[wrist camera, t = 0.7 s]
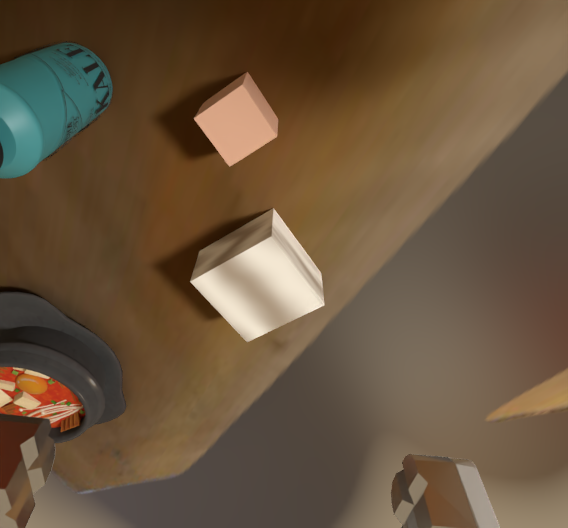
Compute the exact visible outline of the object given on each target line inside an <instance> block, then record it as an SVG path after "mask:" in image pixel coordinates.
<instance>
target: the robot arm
mask: <svg viewBox="0 0 568 528" xmlns="http://www.w3.org/2000/svg"><path fill="white" fill-rule="evenodd" d="M51 429H52V427H51V423H50V419H46V418H37V417H28V416H19V415H10V414H1V413H0V528H25V527H26V525H27V523H28V520H29V518H30V516H31V514H32V512H33V510H34V507H35V500H34V497H33V493H35V492H36V491H37V490H39V489H40V488H41V487H42V486H44V485H45V483H46V481H47V479H48V476H49V474H50V472H51V469H52V465H53V462H54V458H55V443H54V440H53V439H51V438H50V437H49V436H48V435H49V433H50V431H51ZM402 464H403V468H404V469H403V470H402V471H400V472H398V473H396V475H395V478H394V480H393V482H392V490H391V498H392V507H393V512H394V515H395V516H396V517H397V519H398V520H399V521H400V523H401V524H402V527H401V528H500V526H499V523H498V521H497V518H496V516H495V513H494V511H493V508H492V506H491V503H490V501H489V498H488V496H487V493H486V491H485V488H484V486H483V483H482V481H481V478H480V476H479V473H478V470H477V468H476V466H475V464H474V463H473V462H472V461H471V460H467V459H455V458H448V457H438V456H426V455H414V454H413V455H412V454H409V455H407V456H406V457H405V458H404V460H403V462H402Z"/></svg>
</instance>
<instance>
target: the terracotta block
mask: <svg viewBox="0 0 568 528" xmlns="http://www.w3.org/2000/svg"><path fill="white" fill-rule="evenodd" d="M194 120H195V121H196V122H197V124H198V125H199V126H200V128H201V129H202V130H203V132H204V133H205V134H206V136H207V137H208V138H209V140H210V141H211V142H212V144H213V145H214V146H215V148H216V149H217V150H218V152H219V153H220V154H221V156H222V157H223V158H224V160H225V161H226V162H227V164H228V165H229V167H230V166H232V165H233V164H235V163H236V162H238V161H240V160H241V159H243V158H244V157H246V156H247V155H249V154H251V153H252V152H254V151H255V150H257V149H258V148H260V147H262V146H263V145H265V144H266V143H268V142H269V141H271V140H273V139H274V138H276V137H277V131H278V118H277V117H276V115H275V113H274V112H273V110H272V109H271V107H270V106H269V104H268V103H267V101H266V99H265V98H264V96H263V95H262V93H261V92H260V90H259V89H258V87H257V85H256V84H255V82H254V81H253V79H252V78H251V76H250V75H249V73H248V71H247V72H246V73H245V74H243V75H242V76H240V77H239V78H238V79H236V80H235V81H233V82H232V83H230V84H229V85H228V86H226V87H225V88H223V89H222V90H221V91H219V92H218V93H216V94H215V95H213V96H212V97H211V98H209V99H208V100H206V101H205V102H204V103H203V104H202V106H201V107H200V109H199V111H198V112H197V114H196V115H195V117H194Z"/></svg>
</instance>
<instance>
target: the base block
mask: <svg viewBox="0 0 568 528" xmlns="http://www.w3.org/2000/svg"><path fill="white" fill-rule="evenodd" d="M190 282H191V283H192V284H193V285H194V286H195V288H196V289H197V290H198V291H199V292H200V293H201V294H202V295H203V296H204V297H205V298H206V299H207V300H208V301H209V302H210V303H211V304H212V306H213V307H214V308H215V309H216V310H217V311H218V312H219V313H220V314H221V315H222V316H223V317H224V318H225V319H226V320H227V321H228V322H229V323H230V325H231V326H232V327H233V328H234V329H235V330H236V331H237V332H238V333H239V334H240V335H241V336H242V337H243V338H244V339H245V340H246V341H247V342H249V341H251V340H253V339H255V338H257V337H259V336H261V335H263V334H265V333H267V332H269V331H272V330H274V329H276V328H278V327H280V326H282V325H284V324H286V323H288V322H290V321H293V320H295V319H297V318H299V317H301V316H303V315H305V314H307V313H309V312H311V311H313V310H316V309H318V308H320V307H322V306H324V295H323V285H322V275H321V272H320V271H319V269H318V268H317V267H316V265H315V264H314V263H313V261H312V260H311V259H310V257H309V256H308V254H307V253H306V252H305V250H304V249H303V248H302V246H301V245H300V244H299V242H298V241H297V239H296V238H295V237H294V235H293V234H292V233H291V231H290V230H289V229H288V227H287V226H286V224H285V223H284V222H283V220H282V219H281V218H280V216H279V215H278V214H277V212H276V211H275V209H274V208H273V209H271V210H269V211H268V212H266V213H264V214H262V215H261V216H259V217H257V218H256V219H254V220H252V221H250V222H249V223H247V224H245V225H244V226H242V227H240V228H238V229H237V230H235V231H233V232H231V233H230V234H228V235H226V236H225V237H223V238H221V239H219V240H218V241H216V242H214V243H212V244H211V245H209V246H207V247H206V248H204V249H202V250H200V251H199V254H198V258H197V261H196V264H195V267H194V270H193V274H192V277H191V280H190Z"/></svg>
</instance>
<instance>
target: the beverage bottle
mask: <svg viewBox="0 0 568 528" xmlns="http://www.w3.org/2000/svg"><path fill="white" fill-rule="evenodd" d="M58 42H59V41H58ZM66 42H67V41H66ZM69 42H70V41H69ZM54 43H56V42H54ZM74 43H75V42H74ZM74 43H64V42H63V43H59V44H55V45H52V46H50V45H47V46H50V47H47V48H44V47H43V48H44V49H41V48H40V49H41V50H38V49H37V50H38V51H35V50H33V51H35V52H32V53H30V52H29V53H26V55H24V54H23V53H22V54H23V56H21V55H20V56H21V57H19V56H18V57H19V58H16V56H15V57H14V58H16V59H15V60H12V61H9V62H6V63H3V64H1V65H0V178H15V177H19V176H22V175H24V174H27V173H28V172H30V171H31V170H32V169H33V168H35V167H36V165H37V164H38V163H39V162H41V161H42V160H43V159H44V158H47V157H49V155H51V154H52V153H53V152H54V151H55V153H57V152H56V149H59V147H60V146H61V145H62V144H63V146H64V145H65V143H66V142H67V141H68V140H69V141H70V140H71V139H72V138H71V137H72V136H74V135H75V134H76V133H80V131H83V129H85V128H86V127H85V126H86V125H87V127H88V126H89V123H90V122H91V121H92V120H94V119H95V118H96V117H97V116H98V115H100V114H102V112H103V111H104V110H105V109H106V108H107V107H108V106H109V103H110V100H111V96H112V97H113V94H112V90H113V86H112V81H111V78H110V74H109V72H108V70H107V68H106V66H105V65H104V63H103V62H102V61H101V60H100V58H99V57H98V56H97V55H95V54H94V53H93V52H92V51H91V50H89V49H88V48H85V47H83V46H80V45H78V43H77V44H74ZM51 44H52V43H51ZM45 46H46V45H45ZM31 51H32V50H31ZM99 117H101V116H99ZM96 120H97V119H96ZM96 120H94V121H96ZM91 124H92V123H91ZM84 127H85V128H84ZM82 128H83V129H82ZM78 135H79V134H78ZM75 136H77V135H75ZM75 136H74V137H75ZM73 139H74V138H73ZM69 141H68V142H69ZM66 144H67V143H66ZM60 149H61V148H60ZM53 155H54V154H53ZM51 156H52V155H51ZM50 158H51V157H50ZM46 160H47V159H46Z"/></svg>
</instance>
